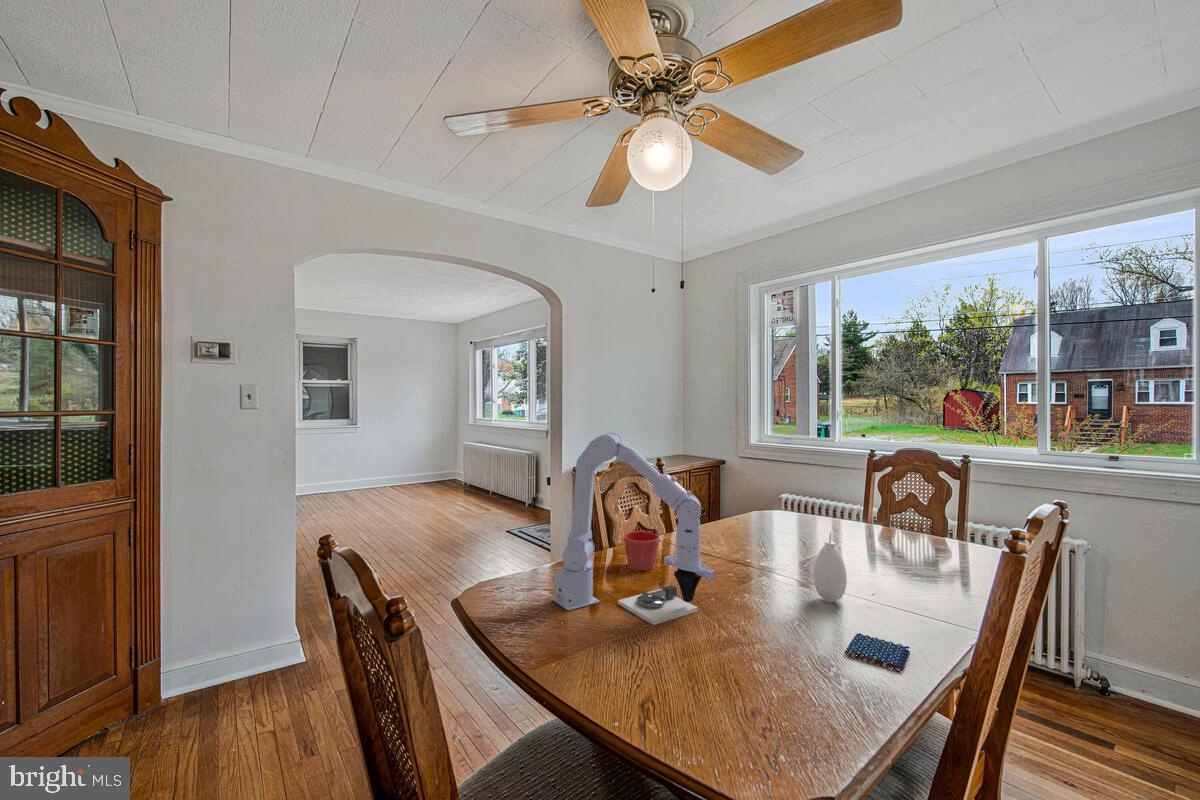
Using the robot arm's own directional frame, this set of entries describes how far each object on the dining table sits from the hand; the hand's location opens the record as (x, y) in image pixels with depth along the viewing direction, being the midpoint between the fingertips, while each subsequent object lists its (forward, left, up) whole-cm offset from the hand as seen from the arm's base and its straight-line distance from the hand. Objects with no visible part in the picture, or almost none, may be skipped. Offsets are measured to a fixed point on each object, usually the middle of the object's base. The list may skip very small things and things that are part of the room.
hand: (687, 600), depth 124 cm
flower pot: (+11, +32, -3) cm, 33 cm away
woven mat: (+19, -36, -3) cm, 41 cm away
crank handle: (-4, +7, -1) cm, 8 cm away
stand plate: (-5, +6, -3) cm, 8 cm away
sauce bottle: (+36, -15, -3) cm, 39 cm away
